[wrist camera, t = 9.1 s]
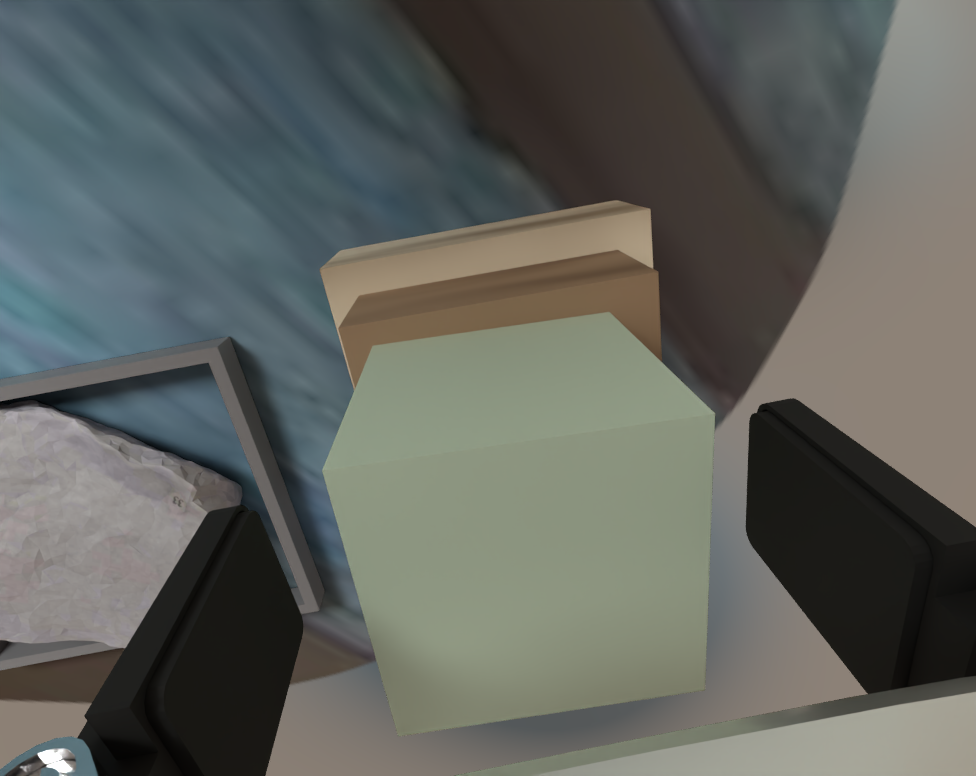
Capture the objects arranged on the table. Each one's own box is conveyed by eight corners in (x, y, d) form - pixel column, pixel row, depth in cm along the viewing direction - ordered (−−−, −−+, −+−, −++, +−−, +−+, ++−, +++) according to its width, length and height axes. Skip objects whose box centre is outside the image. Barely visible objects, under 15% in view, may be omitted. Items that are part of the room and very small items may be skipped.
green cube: (372, 345, 14) (322, 471, 8) (609, 311, 14) (715, 413, 8) (415, 538, 16) (398, 736, 11) (617, 508, 16) (705, 690, 11)
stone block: (-11, 365, 23) (-25, 579, 25) (-126, 388, 19) (-134, 648, 20) (275, 421, 25) (243, 619, 26) (236, 454, 20) (200, 693, 22)
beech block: (342, 248, 20) (319, 269, 16) (612, 199, 20) (650, 208, 16) (404, 479, 24) (396, 538, 20) (630, 438, 24) (663, 489, 20)
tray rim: (-167, 410, 21) (-201, 424, 20) (229, 336, 21) (217, 346, 20) (5, 650, 26) (-15, 672, 24) (324, 591, 26) (319, 610, 24)
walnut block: (358, 295, 17) (338, 327, 14) (617, 250, 17) (658, 271, 14) (414, 510, 20) (407, 579, 17) (632, 472, 20) (668, 533, 17)
